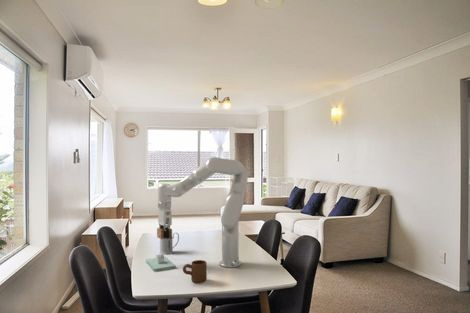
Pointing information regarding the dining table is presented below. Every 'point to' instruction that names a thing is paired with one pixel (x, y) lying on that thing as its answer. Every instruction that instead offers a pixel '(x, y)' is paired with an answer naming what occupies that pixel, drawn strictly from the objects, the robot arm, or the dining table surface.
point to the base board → (161, 266)
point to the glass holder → (167, 245)
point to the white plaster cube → (160, 258)
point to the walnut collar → (161, 233)
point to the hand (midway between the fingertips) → (164, 236)
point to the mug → (197, 271)
